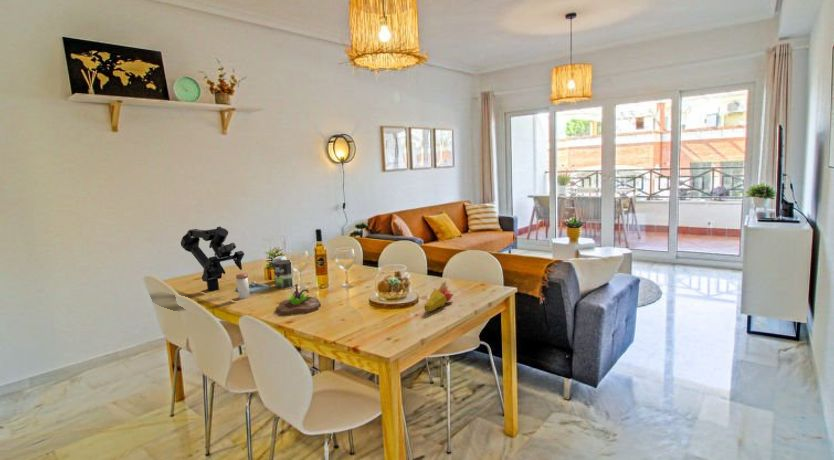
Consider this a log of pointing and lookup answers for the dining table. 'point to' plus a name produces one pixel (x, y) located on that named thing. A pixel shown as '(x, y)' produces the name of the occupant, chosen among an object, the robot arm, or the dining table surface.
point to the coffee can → (283, 274)
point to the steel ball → (254, 283)
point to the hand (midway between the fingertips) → (233, 271)
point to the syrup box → (279, 258)
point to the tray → (257, 288)
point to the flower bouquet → (438, 297)
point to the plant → (298, 304)
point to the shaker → (243, 286)
